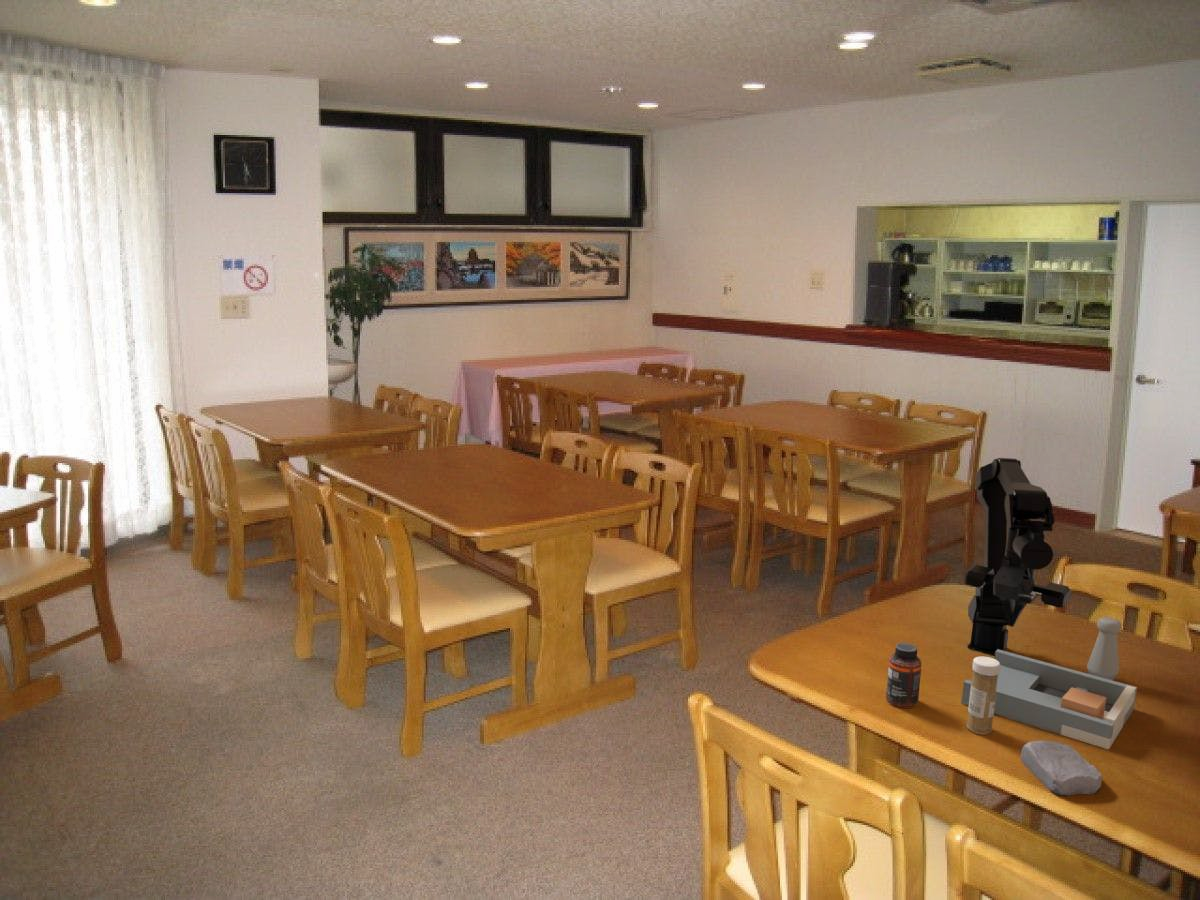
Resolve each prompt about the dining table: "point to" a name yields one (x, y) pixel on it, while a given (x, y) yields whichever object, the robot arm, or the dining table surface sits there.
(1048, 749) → the stone block
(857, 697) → the dining table surface
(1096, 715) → the terracotta block
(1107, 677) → the salt shaker
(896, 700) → the supplement bottle
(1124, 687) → the box
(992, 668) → the sprinkles bottle
